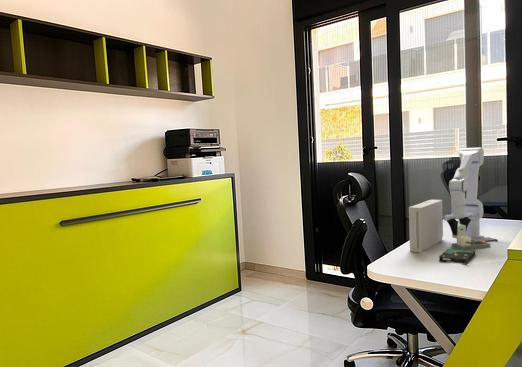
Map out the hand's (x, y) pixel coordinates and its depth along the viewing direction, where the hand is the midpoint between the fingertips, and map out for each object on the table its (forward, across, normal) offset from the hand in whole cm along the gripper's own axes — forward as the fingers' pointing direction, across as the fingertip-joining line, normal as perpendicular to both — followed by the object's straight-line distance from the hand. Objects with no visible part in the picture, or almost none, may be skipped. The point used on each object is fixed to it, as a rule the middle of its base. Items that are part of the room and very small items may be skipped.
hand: (458, 234), depth 184 cm
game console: (+5, -14, +4) cm, 16 cm away
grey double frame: (+5, 0, -8) cm, 9 cm away
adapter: (+4, -4, -9) cm, 11 cm away
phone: (+5, +13, 0) cm, 14 cm away
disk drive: (+5, -16, -19) cm, 26 cm away
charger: (+2, 0, 0) cm, 2 cm away
